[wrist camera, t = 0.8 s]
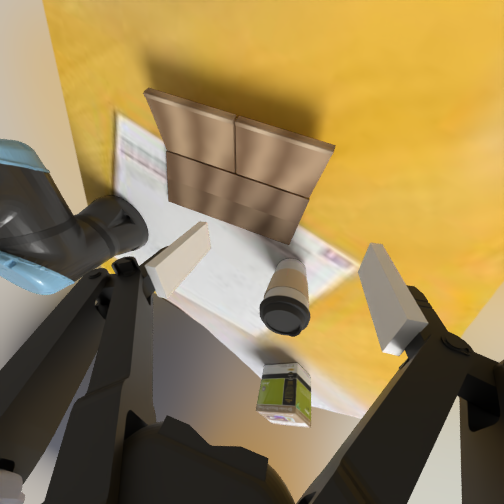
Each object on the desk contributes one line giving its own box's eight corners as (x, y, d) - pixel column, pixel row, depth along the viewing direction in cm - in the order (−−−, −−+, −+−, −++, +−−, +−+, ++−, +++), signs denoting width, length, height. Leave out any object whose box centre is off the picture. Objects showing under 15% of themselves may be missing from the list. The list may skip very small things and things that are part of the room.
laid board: (171, 199, 41) (168, 201, 40) (170, 150, 35) (166, 151, 34) (289, 242, 38) (288, 245, 38) (309, 198, 32) (309, 200, 32)
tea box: (277, 377, 74) (270, 424, 62) (264, 364, 71) (254, 410, 59) (312, 376, 66) (311, 430, 55) (298, 361, 63) (294, 414, 52)
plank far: (170, 146, 34) (166, 150, 34) (148, 87, 26) (142, 92, 25) (237, 168, 33) (234, 173, 32) (236, 114, 25) (232, 120, 24)
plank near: (239, 169, 33) (236, 174, 32) (238, 115, 25) (235, 121, 24) (310, 193, 32) (308, 198, 31) (335, 145, 24) (333, 152, 23)
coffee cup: (264, 270, 45) (246, 321, 33) (287, 247, 39) (276, 298, 27) (293, 290, 46) (286, 347, 34) (320, 270, 40) (322, 329, 28)
